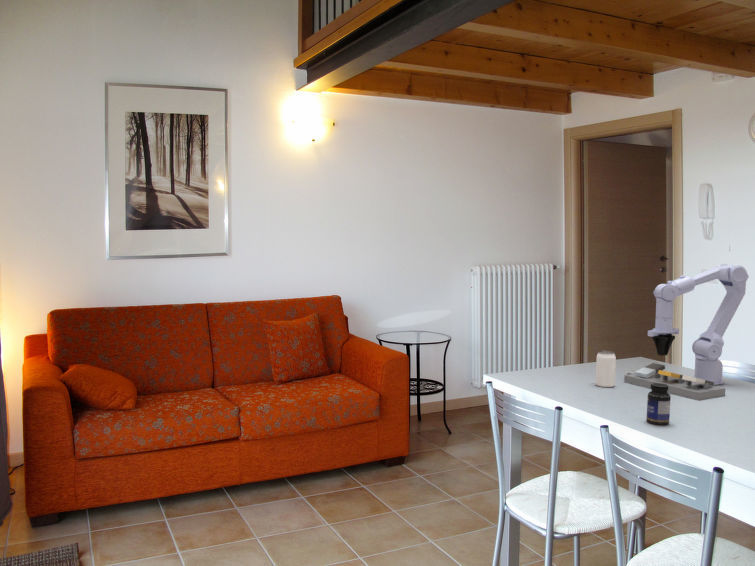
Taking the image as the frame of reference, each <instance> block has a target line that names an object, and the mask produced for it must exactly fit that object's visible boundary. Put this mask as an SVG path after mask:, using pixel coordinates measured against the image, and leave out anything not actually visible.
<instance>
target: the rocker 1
mask: <svg viewBox="0 0 755 566" xmlns="http://www.w3.org/2000/svg"><path fill="white" fill-rule="evenodd" d="M665 369H666V365H665V364H661V363H660V364H659V363H656V362H652V363H650V364H648V365H645V366H644V367H642V368H639V369H637V370H635V371H634V374H635V375H636V376H640V377H644V378H648V377H650V376H652V375H654V374H655V373H658V372H659V370H662V371H665Z"/></svg>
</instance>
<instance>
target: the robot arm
mask: <svg viewBox="0 0 755 566" xmlns="http://www.w3.org/2000/svg"><path fill="white" fill-rule="evenodd" d="M749 277H750V276H749V274H748V271H747V269H746V268H745V267H744V266H742V265H734V264H727V263H724V264H723V263H722V264H720V265H716V266H713V267H711V268H709V269H707V270H706V271H703V272H700V273H698V274H696V275H693V276H689V275H684V274H683V275H680V276H679V277H678V278H677V279H676V278H675V279H674V280H668V281H667V283H661V284H658V285H656V287H655V289H654V290H653V292H652V293H653V295H654V297H655V299H656V300H655V301H656V302H655V304H656V305H655V321H654V322H655V324H654V328H652V329H650V330H647V336H648V337H651V338H652V340H653V343H654V345H655V348H656V353H657V355H658V356H661V357H663V356H668V354H669V351H670V349H671V346H672V344H673V342H674V341H675V339H676V336H675V335H680V328H674V327H673V325H674V324H673V323H674V305H675V304H674V301H675V300H676V299H677V297H679V296H682V295H685V294H688V293H690V292H692V291H694V290H695V287H696V286H699V285H702V284H705V283H708V282H711V281H713V280H718V281H719V282H720V283H721V284H722V286H723V287H724V289H725V290H726V294H725V296H723V300H722V301H721V302H720V305H719V307H718V309H716V310H717V311H716V312H715V314H714V315H713V318H712V320H711V322H710V323H709V326H708V327H707V330H706V331H704V332H702V333H700V334H699V337H698V338H697V339H696V340H694V342H692V346H691V349H692V350H691V351H692V352H693V354H694V357H695V359H694V361H695V362H694V378H699V379H703V380H707V381H711V382H714V385H713V386H717V385H718V386H719V385H722V384H725V382H724V381H723V371H724V370H723V369H724V367H723V363H722V361H721V360H720V357H721V356H722V353H723V347H724V344H725V342H724V339H723V336H724V335H725V333H726V331H727V329H728V326H729V325H730V323H731V321H732V319H733V318H734V316H735V313H736V312H737V310H738V308H739V306H740V305H741V302H742V300H743V299H744V297H745V295H746V289H747V281H748V279H749Z"/></svg>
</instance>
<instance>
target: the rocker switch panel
mask: <svg viewBox="0 0 755 566" xmlns="http://www.w3.org/2000/svg"><path fill="white" fill-rule="evenodd" d="M623 381H624V383H627V384H630V385H631V384H632V385H635V386H639V387H644V388H648V389H651V384H652V383H662V384H666V385H668V391H667V393H668V394H670V395H676V396H680V397H684V398H688V399H692V400H695V401H702V400H709V399H713V398H719V397H725V396H726V388H725V387H722V386H717V385H713V386H710V385H709V383H706V384H701V383H697V382H692V381H688V380H684V379H682V378H674V377H670V376H666V375H661V374H658V373H655V374H654V375H652V376H650V377H648V378H644V377H640V376H636V375H635V373H631V372H627V373H626V374H625V375H624V379H623Z"/></svg>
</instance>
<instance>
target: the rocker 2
mask: <svg viewBox="0 0 755 566" xmlns="http://www.w3.org/2000/svg"><path fill="white" fill-rule="evenodd" d="M658 374H661V375H666V376H670V377H674V378H682V377H683V375H684V374H678V373H674V372H672V371H671V372H670V371H666V370H659V372H658Z"/></svg>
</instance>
